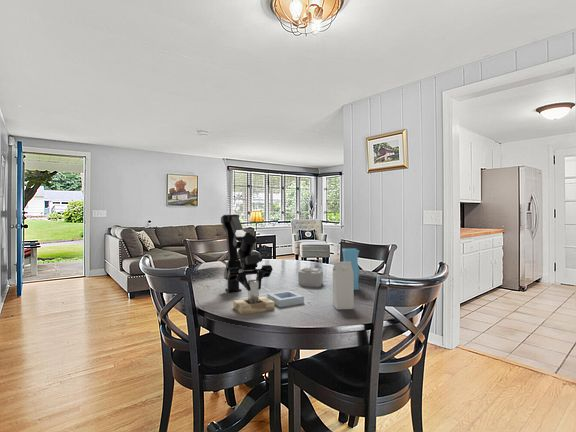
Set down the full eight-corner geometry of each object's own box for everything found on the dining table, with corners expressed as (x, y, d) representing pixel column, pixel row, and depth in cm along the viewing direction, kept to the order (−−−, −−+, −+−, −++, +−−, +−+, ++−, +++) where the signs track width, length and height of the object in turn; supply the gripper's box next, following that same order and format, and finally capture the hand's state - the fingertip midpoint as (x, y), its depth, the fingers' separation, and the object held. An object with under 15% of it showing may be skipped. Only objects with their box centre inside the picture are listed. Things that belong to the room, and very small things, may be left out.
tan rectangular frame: (233, 307, 138) (233, 300, 138) (263, 302, 144) (263, 296, 144) (242, 314, 129) (242, 307, 128) (274, 309, 135) (274, 301, 135)
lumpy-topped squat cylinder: (318, 287, 173) (318, 270, 173) (295, 285, 177) (295, 269, 177) (324, 283, 182) (323, 267, 182) (301, 281, 187) (301, 266, 187)
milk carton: (332, 304, 141) (332, 260, 140) (349, 304, 141) (348, 260, 141) (336, 310, 134) (336, 263, 133) (353, 309, 134) (353, 262, 134)
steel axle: (246, 304, 137) (246, 280, 137) (256, 302, 140) (256, 279, 139) (250, 307, 134) (250, 282, 133) (260, 305, 136) (260, 281, 135)
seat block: (267, 300, 148) (267, 293, 148) (290, 296, 154) (290, 290, 154) (279, 307, 138) (279, 300, 138) (304, 303, 144) (304, 296, 144)
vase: (359, 289, 166) (359, 250, 166) (343, 289, 166) (343, 250, 166) (356, 286, 174) (356, 248, 174) (341, 286, 174) (341, 248, 174)
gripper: (228, 248, 136) (235, 281, 126) (270, 246, 143) (280, 276, 134) (224, 264, 143) (230, 296, 133) (264, 261, 151) (273, 291, 141)
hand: (254, 289), depth 135 cm, fingers closed on steel axle, 4 cm apart
